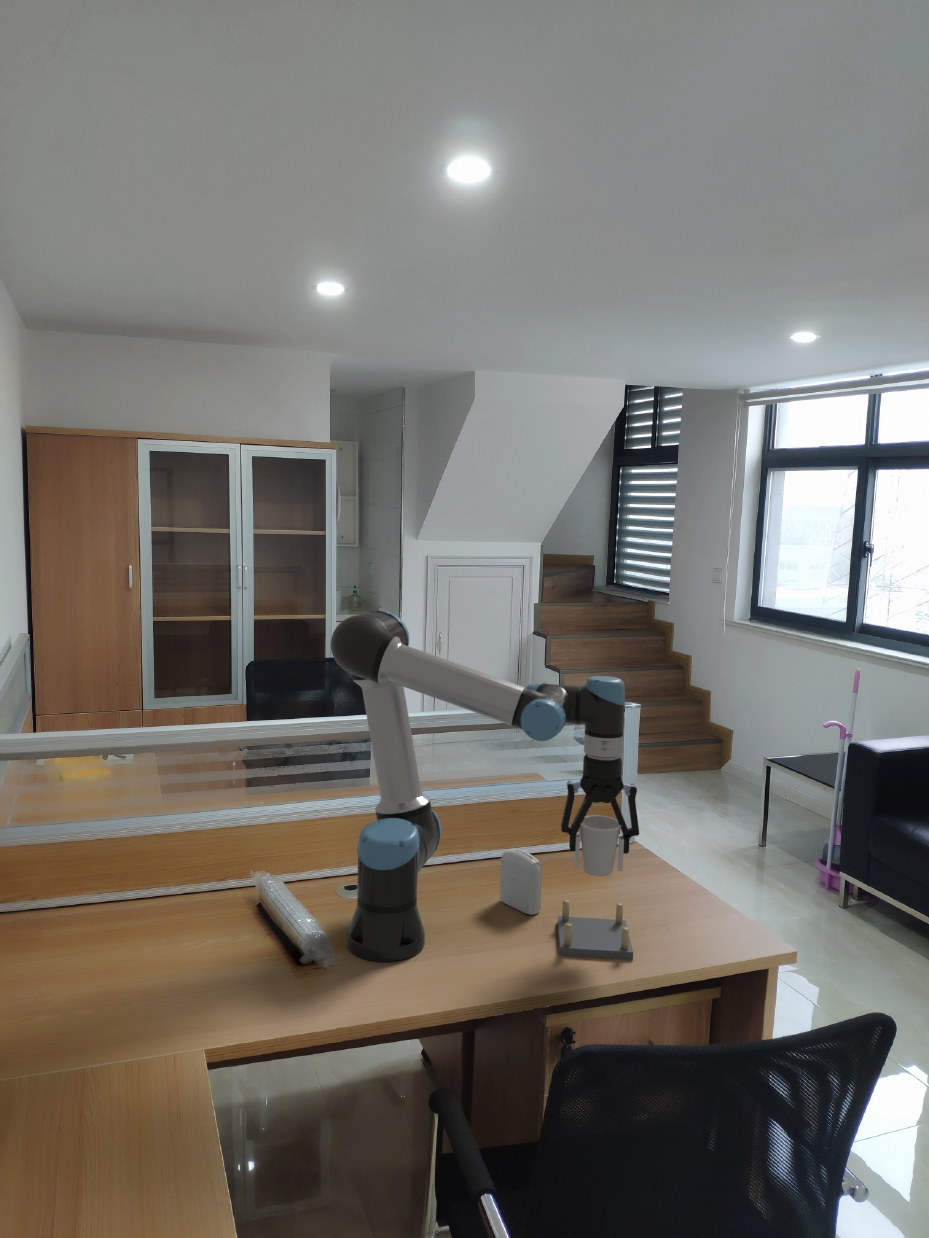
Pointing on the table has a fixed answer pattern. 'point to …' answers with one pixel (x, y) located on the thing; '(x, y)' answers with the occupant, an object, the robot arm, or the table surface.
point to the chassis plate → (594, 935)
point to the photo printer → (521, 881)
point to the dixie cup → (599, 844)
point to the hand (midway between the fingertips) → (598, 867)
